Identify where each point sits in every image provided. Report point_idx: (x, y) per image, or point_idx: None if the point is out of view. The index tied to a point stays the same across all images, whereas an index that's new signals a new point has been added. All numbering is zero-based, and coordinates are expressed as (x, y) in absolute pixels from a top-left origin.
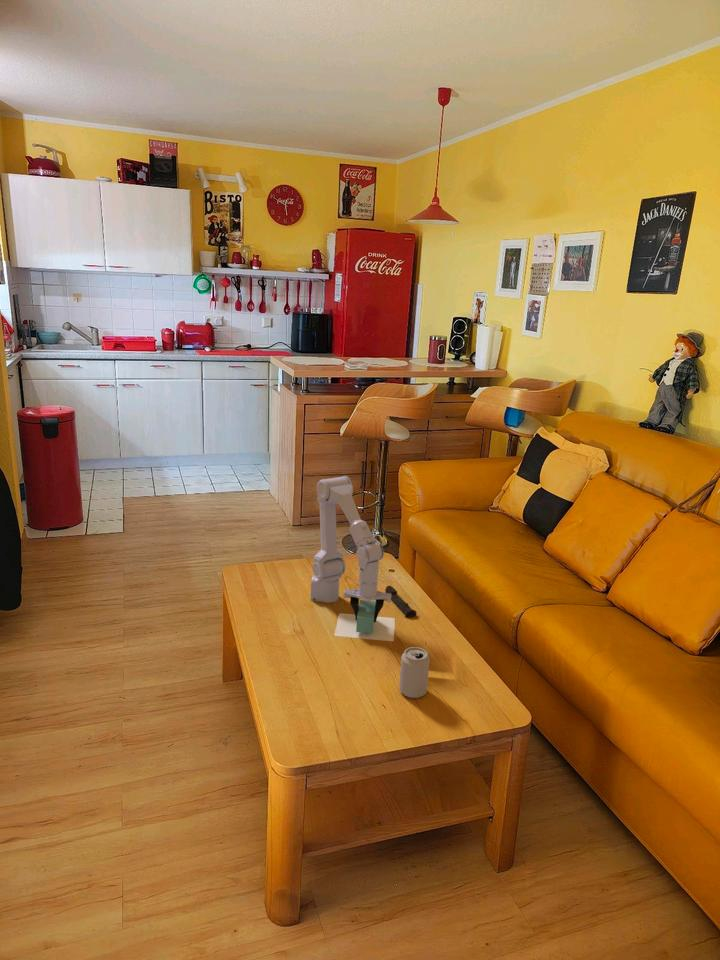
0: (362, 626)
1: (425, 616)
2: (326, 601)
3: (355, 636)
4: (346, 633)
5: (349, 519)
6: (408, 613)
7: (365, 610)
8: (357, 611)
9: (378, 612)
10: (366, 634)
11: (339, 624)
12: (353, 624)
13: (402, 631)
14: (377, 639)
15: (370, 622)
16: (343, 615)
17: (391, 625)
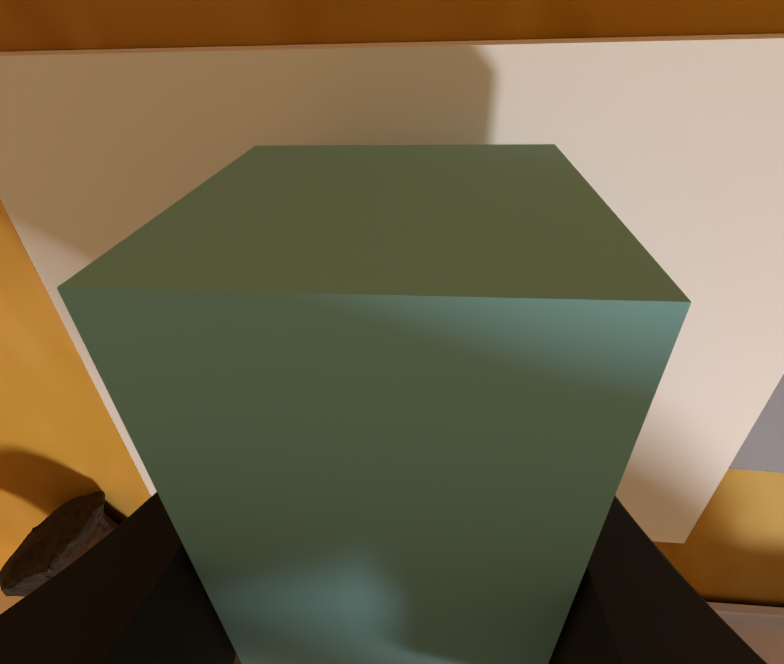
0: (441, 179)
1: (12, 540)
2: (769, 654)
3: (551, 93)
4: (696, 167)
5: None
6: (41, 558)
7: (399, 594)
8: (588, 564)
9: (93, 550)
10: None
11: (742, 376)
12: None
13: (57, 366)
14: (177, 62)
15: (218, 226)
16: (647, 518)
17: None
